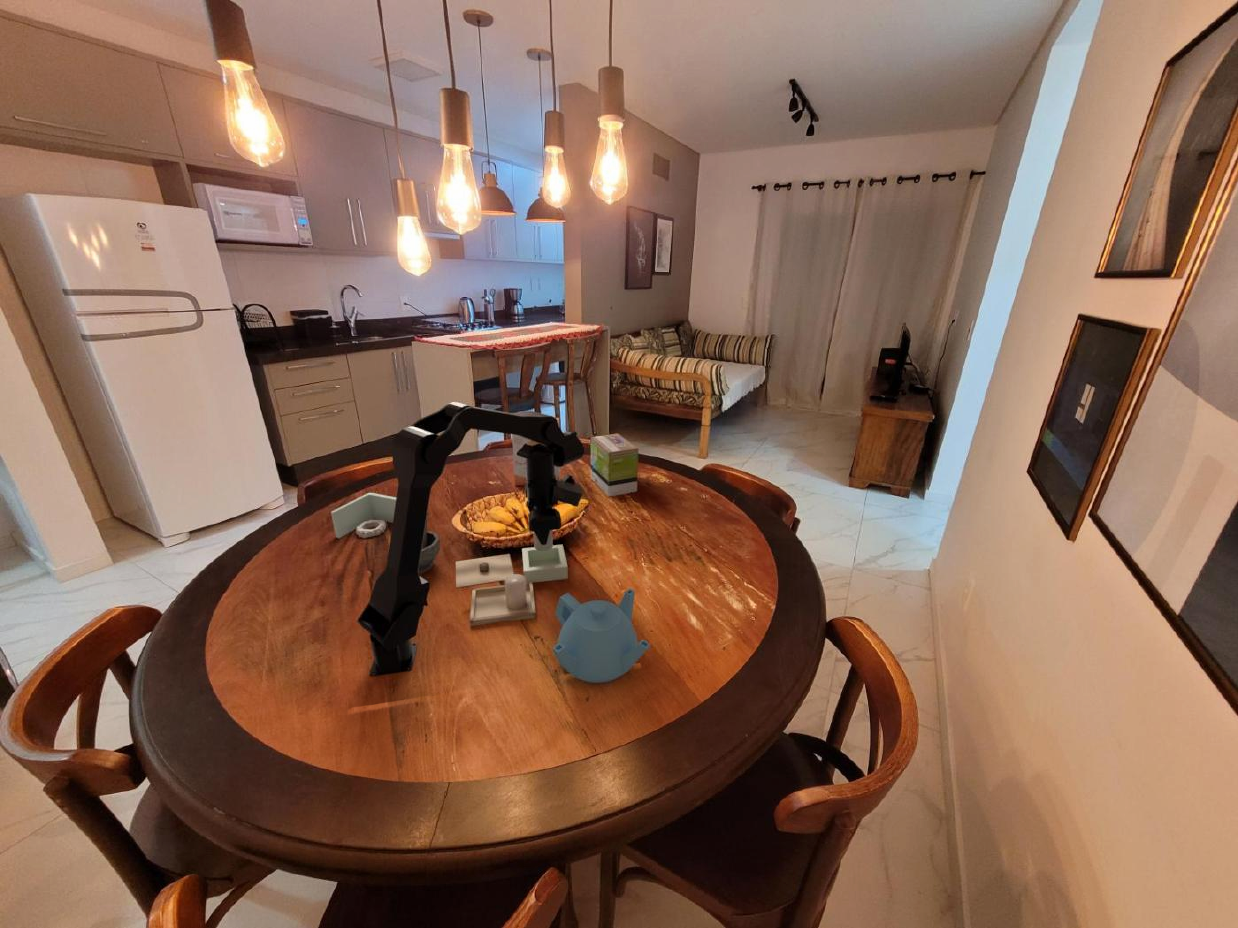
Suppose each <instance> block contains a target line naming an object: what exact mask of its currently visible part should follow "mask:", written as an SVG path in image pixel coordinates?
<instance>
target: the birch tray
mask: <svg viewBox="0 0 1238 928" xmlns="http://www.w3.org/2000/svg"><path fill="white" fill-rule="evenodd" d="M471 591H472V592H471V593H472V594H471V602H470V605H471V606H470V615H469V625H470V627H472V626H479V625H480V626H481V625H482V626H483V625H489V624H495V623H496V624H497V623H503V622H504V623H505V622H511V621H520V620H528V619H536V617H537V616H536V605H535V604H536V603H535V595H534V586H533V583H532V582H528V583H526V594H527V604H526V606H525V607H523V608H521V609H518V610H512V609H509V608H508V607H507V605H506V592H505V584H503V585H502V584H501V585H495V586H485V587H475V588H472V590H471Z"/></svg>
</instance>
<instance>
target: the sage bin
mask: <svg viewBox="0 0 1238 928" xmlns="http://www.w3.org/2000/svg"><path fill="white" fill-rule="evenodd" d="M563 545H564V544H556V545H554V544H553V547H552V548H551V549H549V550H546V551H539V550H536V549H535V548H534V546H533V547H532V546H531V547H524V548H521V552H522V553H521V555H522V556H521V557H522V568H523V576H524V577H525V578H526V583H528V582H532V584H533V583H543V582H550V581H558V580H559V581H561V580H568V579H569V575H568V574H569V573H568V572H569V571H568V563H567V558H566V554H565V549H564V546H563Z"/></svg>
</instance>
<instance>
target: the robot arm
mask: <svg viewBox="0 0 1238 928" xmlns="http://www.w3.org/2000/svg"><path fill="white" fill-rule="evenodd" d="M556 418H557V417H554V416H552V415H549V414H545V413H542V412H538V411H533V410H523V411H522V410H520V411H517V412H506V411H500V410H496V409H495V410H494V409H489V408H483V407H476V406H473V405H469V404H465V403H461V402H457V401H452V402H449V403H447V404H446V405H444V406H443V407H442V408H439V410H437V411H435V412H433V413H431V414H429V415H426V416H425V417H422V418H419V419H418V420H417V421H416V422H414V423H413V424H411V426H406V427H404V428H402V429H401V430H400V431H399V432H397V433H395V435H394V436H393V439H392V443H391V445H392V446H391V447H392V449H391V450H392V451H391V452H392V453H391V455H392V465H393V468H394V473H395V475H396V478H397V483H398V484H397V485H398V486H397V491H396V504H395V511H394V518H393V523H392V525H391V526H392V527H391V534H390V540H389V546H388V548H389V549H388V554H387V560H386V566H385V569H384V570H383V571H382V573H380V575H379V576H378V577H377V579H376V580H375V582H374V586H373V589H372V591H371V595H370V598H369V599H370V600H369V601H368V603H367V605H366V606H365V607H364V609H363V611H362V612H361V614H360V616H359V617H358V619H357V621H356V622H357V623H358V624H359V625H360V627H362V628H363V630H366V631H367V632H368V634H370V635H369V639H370V644H371V648H372V649H371V650H372V654H373V662H372V665H371V668H370V671H369V674H368V675H369V676H370V677H378V676H385V675H390V674H398V673H405V672H411V671H412V669H413V667H414V661H415V658H416V653H417V648H418V643H417V642H411V639H412V638H414V637H416V636H417V632H418V627H419V623H420V618H421V617H422V615H423V612H424V608H425V607H428V606H429V604H428V595H429V591H430V588H431V587H430V586H431V585H430V581H428V580H427V579H425V578H423V576H421V575H420V574H419V572H418V569H419V562H420V556H421V549H422V543H423V537H424V530H425V524H426V517H427V512H428V511H429V503H430V498H431V490H432V489H433V488H432V487H433V486H434V484H436V483H437V481H438V480H439V478H440V477H441V476H442V474H443V472H444V469H445V466H446V463H447V460H448V458H449V456H450V455H452V454H453V453H454V452H455V451H457V450H458V449H459V447H460V446H461V445H462V442H463V440H464V438H465V436H466V434H467V433H468V432H470V431H471V430H478V431H484V432H485V431H486V432H493V433H500V434H508V435H512V434H514V435H517V436H520V437H522V438H525V439H528V440H531V441H534V442H538V444H535V445H532V446H531V445H528V444H524V445H523V447H522V448H521V449H520V450H519V451H518V452H517V456H520V457H523V458H526V471H527V474H526V479H527V484H526V485H524V494H525V499H526V498H527V500H526V507H527V510H528V514H527V515H528V516H527V517H528V529H529V531H530V532H532V533H533V534H534V533H535V534H536V536H537V538H538V540H539V541H540V543H541V545H546V544H547V540H548V536H549V532H550V530H552V531H555V530H556V531H558V530H560V529H562V518H561V513H560V511H559V510H558V509H556V508H555V507H554V506H558V505H559V502H560V503H563V504H567V505H571V506H572V507H578V506H579V504H580V502H581V499H582V497H583V494H584V492H583V489H582V487H581V485H580V484H579V483H578V482H577V483H576V481H575V478H574V476H573V475H570V474H566V475H565V476H564V477H563V478H562V479H561V478H560V480H556V475H555V466H557V467H560V468H562V467H564V466H566V465H569V464H572V463H573V462H576V461H579V460H581V459H582V458H583V457H584V455H585V454H584V453H585V448H584V445H583V443H582V441H581V440H580V438H579V437H578V434H577V433H578V432H577V431H574V430H570V429H568V430H565V431H564V432H563V431H562V429H561V427H560V428H559V426H558V422H557V419H556ZM540 443H541V444H540ZM543 444H544V445H543ZM427 518H428V517H427Z"/></svg>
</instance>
